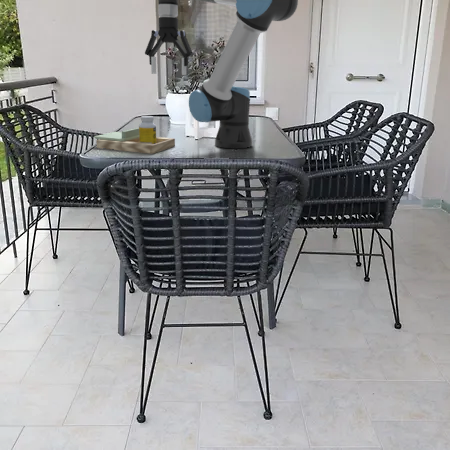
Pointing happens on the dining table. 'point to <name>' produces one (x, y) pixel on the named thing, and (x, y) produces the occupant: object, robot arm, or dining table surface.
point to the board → (137, 145)
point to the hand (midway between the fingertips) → (168, 74)
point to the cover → (120, 135)
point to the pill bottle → (147, 130)
